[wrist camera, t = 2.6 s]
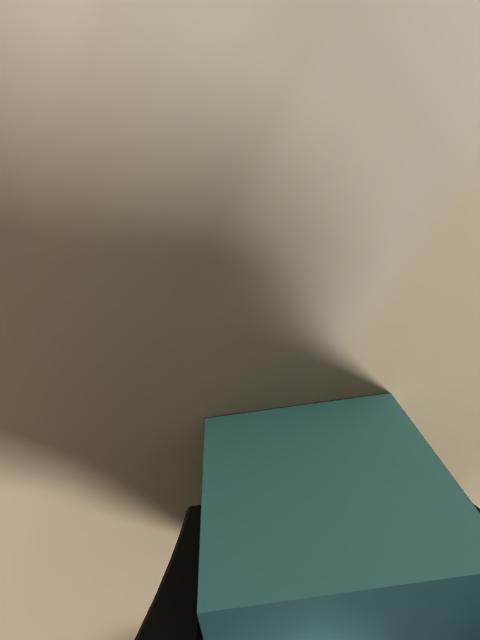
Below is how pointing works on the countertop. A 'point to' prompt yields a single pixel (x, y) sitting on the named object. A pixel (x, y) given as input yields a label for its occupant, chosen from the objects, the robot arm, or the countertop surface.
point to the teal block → (333, 528)
